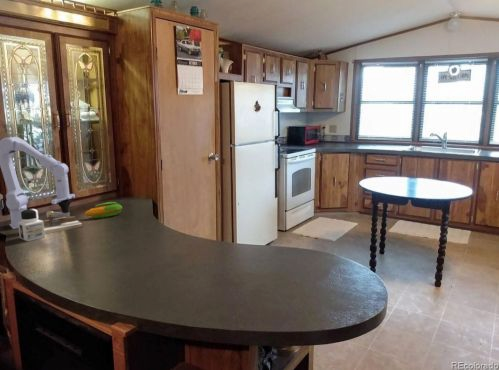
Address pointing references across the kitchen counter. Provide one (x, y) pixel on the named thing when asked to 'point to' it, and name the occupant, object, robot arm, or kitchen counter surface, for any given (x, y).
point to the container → (30, 225)
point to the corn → (104, 210)
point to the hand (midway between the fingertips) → (65, 214)
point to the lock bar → (58, 214)
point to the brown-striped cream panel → (60, 224)
